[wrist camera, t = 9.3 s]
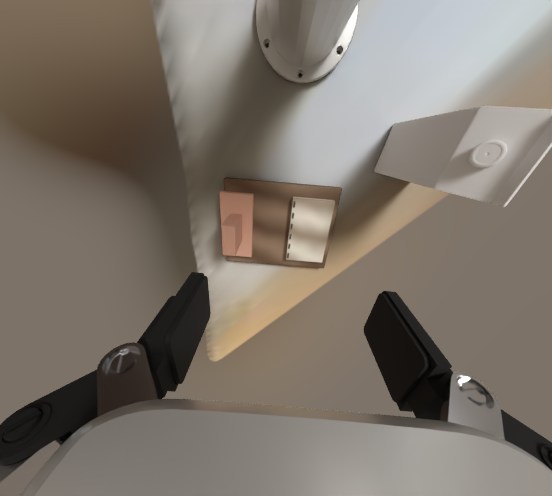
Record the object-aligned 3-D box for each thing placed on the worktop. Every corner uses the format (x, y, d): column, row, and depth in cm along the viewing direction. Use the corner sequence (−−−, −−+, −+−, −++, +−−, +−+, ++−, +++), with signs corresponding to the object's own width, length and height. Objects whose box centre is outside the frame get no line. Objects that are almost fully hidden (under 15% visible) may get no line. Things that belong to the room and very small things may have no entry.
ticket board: (226, 177, 34) (221, 179, 32) (339, 187, 35) (344, 190, 32) (228, 256, 42) (225, 263, 39) (322, 264, 42) (325, 271, 40)
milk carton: (435, 134, 31) (623, 120, 14) (411, 181, 34) (540, 215, 17) (393, 123, 30) (534, 94, 13) (372, 171, 33) (466, 197, 16)
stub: (221, 190, 34) (207, 201, 28) (253, 193, 34) (247, 204, 28) (224, 251, 39) (213, 272, 33) (252, 254, 39) (246, 274, 33)
